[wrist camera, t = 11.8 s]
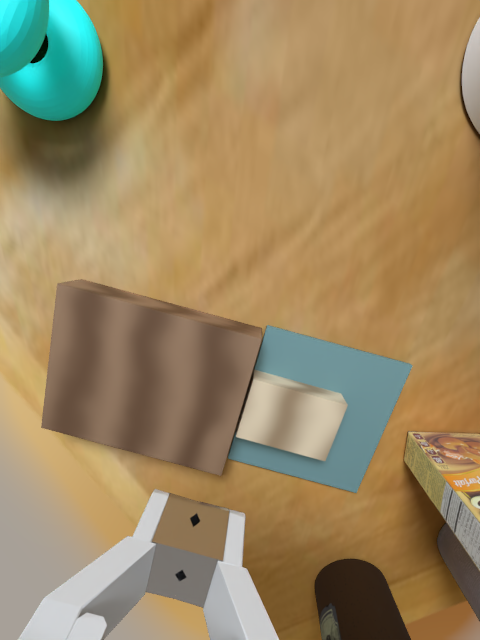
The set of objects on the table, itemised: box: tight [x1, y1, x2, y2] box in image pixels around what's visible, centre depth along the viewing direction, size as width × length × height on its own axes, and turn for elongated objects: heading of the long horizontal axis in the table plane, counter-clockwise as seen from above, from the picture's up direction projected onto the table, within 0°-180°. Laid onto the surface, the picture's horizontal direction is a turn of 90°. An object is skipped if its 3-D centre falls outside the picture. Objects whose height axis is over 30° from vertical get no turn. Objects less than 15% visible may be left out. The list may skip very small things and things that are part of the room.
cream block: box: [236, 370, 348, 461], centre depth 32 cm, size 10×7×2 cm
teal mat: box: [228, 325, 412, 493], centre depth 34 cm, size 16×17×1 cm
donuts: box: [0, 0, 103, 121], centre depth 22 cm, size 10×10×10 cm
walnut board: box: [42, 279, 262, 476], centre depth 32 cm, size 20×16×4 cm
